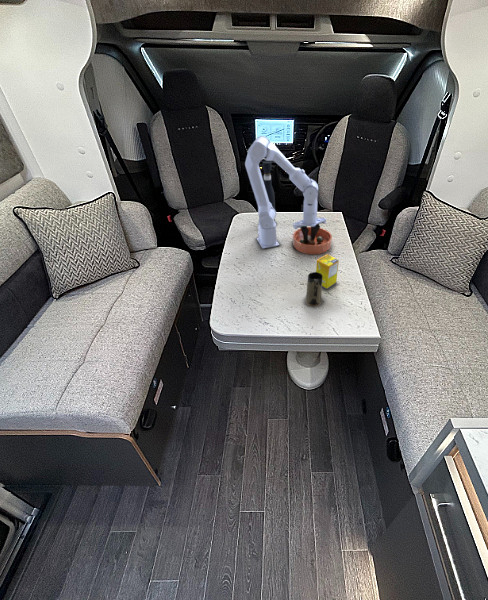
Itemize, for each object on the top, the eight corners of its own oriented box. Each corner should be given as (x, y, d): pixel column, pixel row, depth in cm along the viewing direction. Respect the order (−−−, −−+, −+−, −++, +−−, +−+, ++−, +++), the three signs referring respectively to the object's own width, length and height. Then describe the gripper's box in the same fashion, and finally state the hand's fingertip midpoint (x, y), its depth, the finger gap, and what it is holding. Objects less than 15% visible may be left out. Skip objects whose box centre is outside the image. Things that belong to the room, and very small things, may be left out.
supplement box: (324, 277, 134) (326, 253, 127) (336, 284, 131) (339, 259, 124) (314, 283, 131) (316, 259, 124) (326, 290, 128) (328, 266, 121)
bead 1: (299, 245, 153) (297, 239, 151) (305, 242, 154) (303, 236, 152) (301, 248, 151) (299, 242, 149) (307, 245, 151) (305, 239, 149)
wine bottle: (270, 228, 166) (268, 165, 147) (259, 224, 168) (256, 162, 149) (277, 223, 170) (276, 161, 151) (267, 220, 173) (265, 158, 154)
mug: (305, 296, 125) (307, 268, 117) (320, 296, 125) (322, 269, 117) (306, 310, 119) (308, 282, 111) (322, 310, 119) (324, 282, 111)
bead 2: (315, 241, 155) (314, 237, 152) (321, 238, 155) (320, 234, 153) (318, 245, 153) (318, 241, 151) (324, 242, 154) (323, 238, 151)
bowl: (287, 239, 158) (287, 230, 155) (321, 233, 162) (321, 224, 160) (301, 257, 145) (301, 248, 142) (337, 250, 150) (338, 241, 147)
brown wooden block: (302, 240, 154) (304, 235, 153) (307, 240, 155) (309, 235, 154) (308, 247, 149) (310, 242, 148) (314, 247, 150) (315, 242, 149)
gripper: (297, 218, 138) (297, 247, 146) (330, 212, 142) (327, 241, 150) (291, 211, 143) (291, 240, 151) (322, 206, 147) (321, 234, 155)
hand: (309, 240), depth 151 cm, fingers closed on brown wooden block, 3 cm apart
